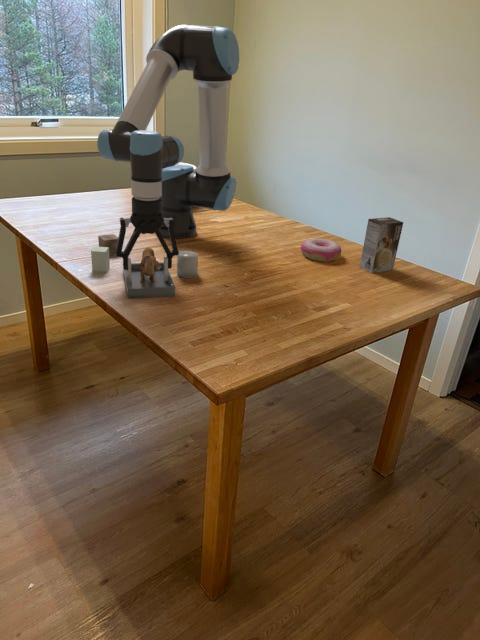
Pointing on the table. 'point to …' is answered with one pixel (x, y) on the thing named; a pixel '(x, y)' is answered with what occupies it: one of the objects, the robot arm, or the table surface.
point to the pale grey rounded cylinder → (187, 264)
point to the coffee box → (381, 244)
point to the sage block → (100, 259)
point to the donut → (321, 249)
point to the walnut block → (108, 242)
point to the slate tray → (148, 283)
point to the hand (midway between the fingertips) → (147, 279)
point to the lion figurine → (148, 265)
